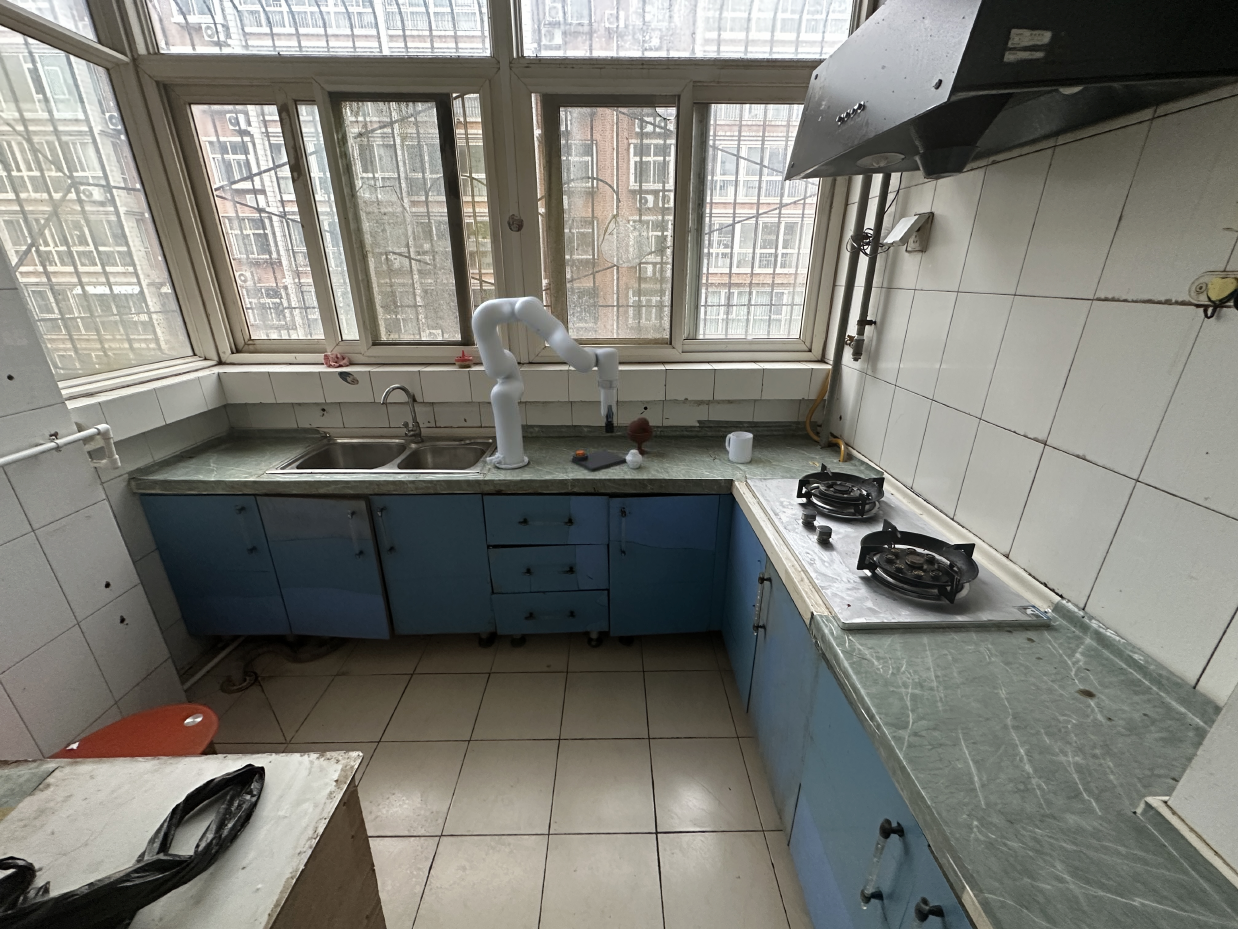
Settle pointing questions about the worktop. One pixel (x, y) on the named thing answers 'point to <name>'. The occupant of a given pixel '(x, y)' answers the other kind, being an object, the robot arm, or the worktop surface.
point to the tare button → (580, 453)
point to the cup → (739, 446)
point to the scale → (598, 460)
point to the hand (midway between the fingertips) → (609, 432)
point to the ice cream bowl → (640, 433)
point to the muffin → (634, 459)
